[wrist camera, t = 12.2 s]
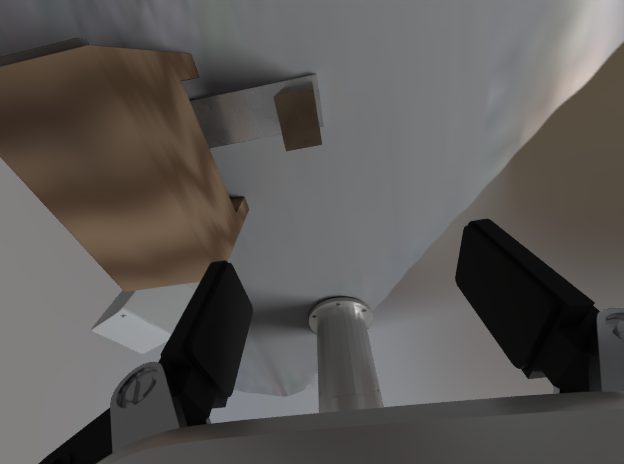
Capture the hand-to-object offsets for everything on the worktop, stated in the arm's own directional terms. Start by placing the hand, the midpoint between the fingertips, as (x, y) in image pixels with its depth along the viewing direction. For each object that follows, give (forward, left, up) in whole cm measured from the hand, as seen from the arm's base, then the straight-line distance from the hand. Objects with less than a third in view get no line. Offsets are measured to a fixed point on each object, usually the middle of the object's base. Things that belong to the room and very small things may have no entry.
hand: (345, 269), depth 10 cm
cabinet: (+1, +17, -23) cm, 28 cm away
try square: (+4, +12, -23) cm, 26 cm away
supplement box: (-16, +27, -23) cm, 39 cm away
